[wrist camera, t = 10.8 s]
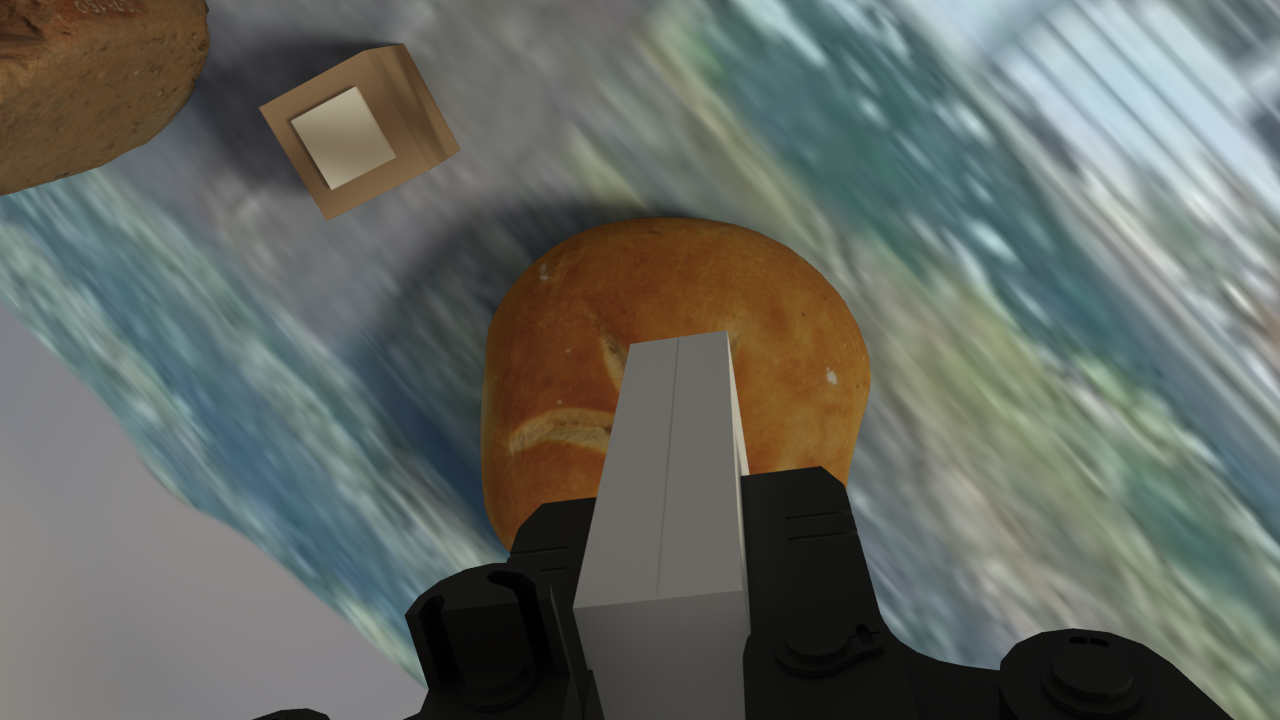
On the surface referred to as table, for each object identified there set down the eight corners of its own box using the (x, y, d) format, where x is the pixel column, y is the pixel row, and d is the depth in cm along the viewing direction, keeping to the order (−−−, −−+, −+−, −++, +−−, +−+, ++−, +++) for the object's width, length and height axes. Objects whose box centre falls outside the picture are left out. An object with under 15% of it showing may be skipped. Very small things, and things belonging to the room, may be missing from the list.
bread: (395, 318, 54) (330, 386, 44) (756, 121, 48) (768, 151, 39) (591, 609, 60) (570, 721, 51) (928, 465, 55) (974, 561, 46)
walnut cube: (309, 94, 49) (255, 108, 43) (404, 43, 48) (362, 50, 42) (368, 196, 51) (324, 222, 45) (461, 149, 50) (428, 170, 44)
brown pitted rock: (132, 170, 51) (-193, 270, 33) (23, 61, 49) (-387, 103, 31) (257, 36, 48) (-24, 64, 30) (146, -84, 46) (-229, -136, 28)
